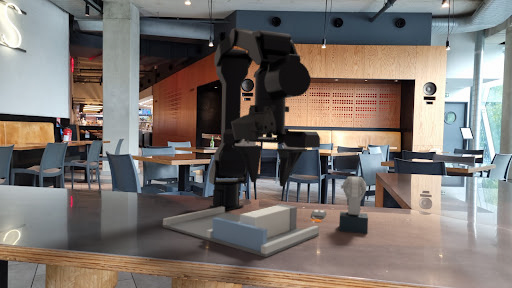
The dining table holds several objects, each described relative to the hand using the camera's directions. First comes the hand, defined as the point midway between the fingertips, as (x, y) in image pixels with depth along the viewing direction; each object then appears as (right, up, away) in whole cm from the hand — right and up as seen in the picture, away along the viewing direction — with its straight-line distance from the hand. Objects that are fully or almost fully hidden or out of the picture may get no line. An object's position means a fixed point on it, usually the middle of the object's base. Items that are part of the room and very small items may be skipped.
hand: (267, 184), depth 70 cm
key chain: (+12, -10, +16) cm, 22 cm away
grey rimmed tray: (-5, -10, +4) cm, 12 cm away
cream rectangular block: (0, -10, 0) cm, 10 cm away
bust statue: (+18, -10, +8) cm, 22 cm away
